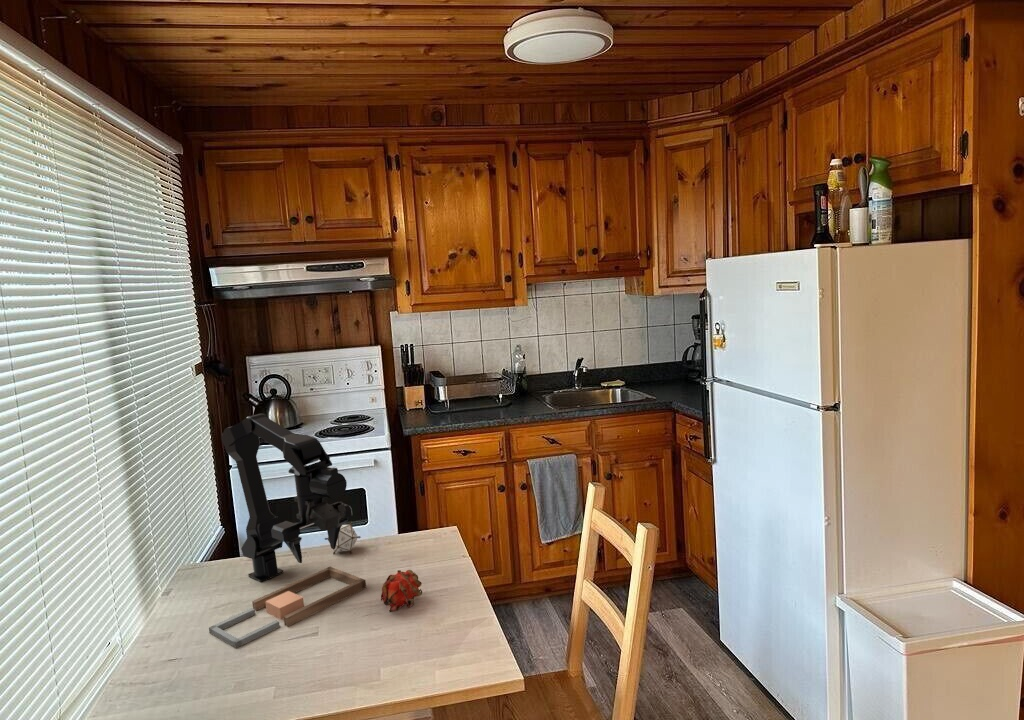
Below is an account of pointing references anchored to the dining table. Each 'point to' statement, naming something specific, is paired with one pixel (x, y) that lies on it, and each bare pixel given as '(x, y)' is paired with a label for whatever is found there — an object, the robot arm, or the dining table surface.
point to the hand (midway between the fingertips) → (317, 555)
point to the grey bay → (237, 642)
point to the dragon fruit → (401, 589)
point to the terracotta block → (284, 604)
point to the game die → (345, 539)
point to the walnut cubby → (353, 587)
